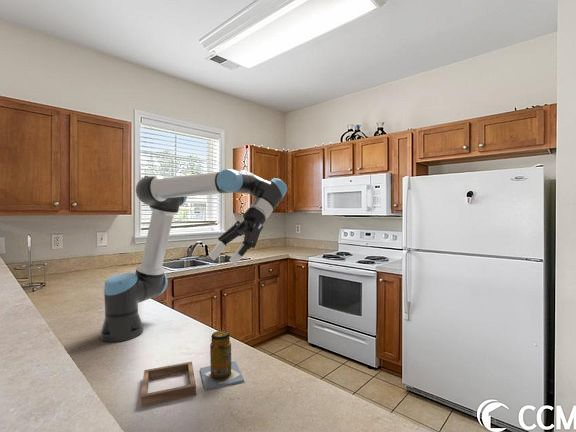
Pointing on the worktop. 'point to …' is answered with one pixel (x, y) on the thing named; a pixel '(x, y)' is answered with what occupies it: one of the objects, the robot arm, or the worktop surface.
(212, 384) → the mat
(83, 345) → the worktop surface
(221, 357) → the condiment
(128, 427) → the worktop surface
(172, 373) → the pocket
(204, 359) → the worktop surface
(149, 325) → the worktop surface
